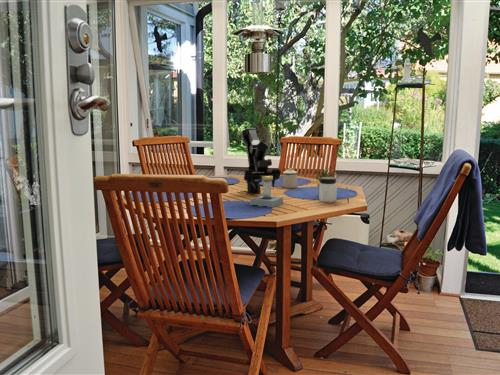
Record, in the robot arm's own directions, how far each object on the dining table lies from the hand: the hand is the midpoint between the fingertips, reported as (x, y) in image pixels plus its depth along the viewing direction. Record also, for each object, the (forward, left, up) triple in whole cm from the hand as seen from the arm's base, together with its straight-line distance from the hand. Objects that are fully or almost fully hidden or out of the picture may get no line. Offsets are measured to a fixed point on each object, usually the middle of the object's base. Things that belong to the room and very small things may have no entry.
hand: (264, 187), depth 243 cm
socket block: (+3, -4, -8) cm, 9 cm away
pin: (+3, -4, -8) cm, 9 cm away
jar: (+27, +18, -8) cm, 34 cm away
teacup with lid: (-10, +49, -8) cm, 51 cm away
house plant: (+20, +30, -8) cm, 37 cm away
